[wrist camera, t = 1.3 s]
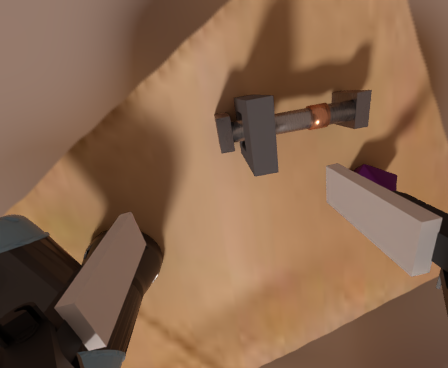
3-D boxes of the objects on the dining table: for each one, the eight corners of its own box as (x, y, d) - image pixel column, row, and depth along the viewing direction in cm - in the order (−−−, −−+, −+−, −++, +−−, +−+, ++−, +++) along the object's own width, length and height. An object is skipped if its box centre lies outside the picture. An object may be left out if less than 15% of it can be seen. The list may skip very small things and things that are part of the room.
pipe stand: (219, 143, 37) (221, 153, 31) (214, 114, 35) (215, 119, 29) (342, 121, 37) (368, 126, 31) (343, 90, 35) (372, 89, 29)
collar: (241, 152, 37) (254, 176, 26) (233, 98, 33) (245, 100, 23) (258, 149, 37) (278, 172, 26) (252, 94, 33) (273, 95, 23)
